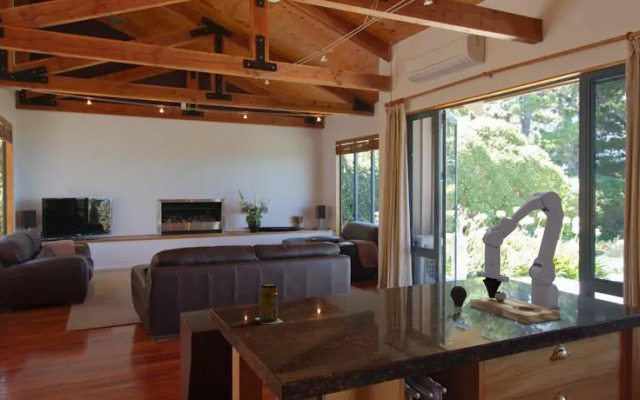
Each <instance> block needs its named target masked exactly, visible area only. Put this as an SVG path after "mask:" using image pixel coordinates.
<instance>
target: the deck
mask: <svg viewBox="0 0 640 400" xmlns="http://www.w3.org/2000/svg"><path fill="white" fill-rule="evenodd" d="M530 303H531V302H530ZM530 303H529V302H526V301H522V300H518V299H514V298H509V297H506V299H505V301H503V302H499V301H497V300H496V299H495V298H492V299H491V298H489V297H485V298H476V299H475V298H474V299H470V307H472V308H475V309H478V310H481V311H485V312H488V313H490V314H494V315H497V316H501V317H504V318H508V319H511V320H514V321H518V322H521V323H524V324H527V325H528V324H533V323H539V322H545V321H553V320H560V319H561V310H557V309H554V308H545V307H542V306H538V305H534V304H530ZM559 318H560V319H559Z"/></svg>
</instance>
